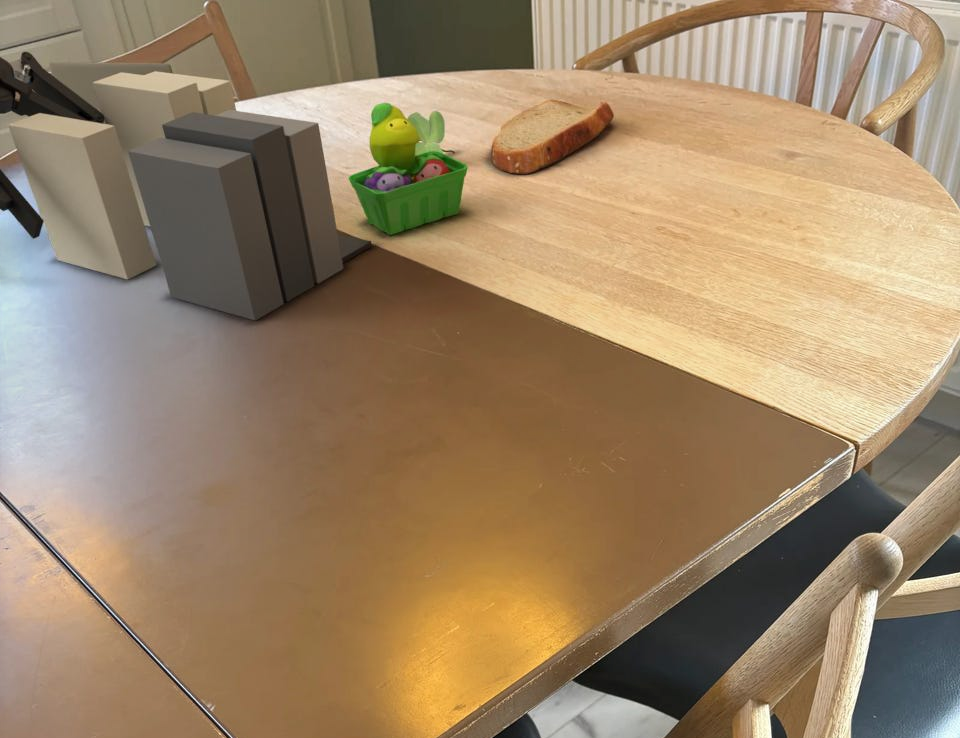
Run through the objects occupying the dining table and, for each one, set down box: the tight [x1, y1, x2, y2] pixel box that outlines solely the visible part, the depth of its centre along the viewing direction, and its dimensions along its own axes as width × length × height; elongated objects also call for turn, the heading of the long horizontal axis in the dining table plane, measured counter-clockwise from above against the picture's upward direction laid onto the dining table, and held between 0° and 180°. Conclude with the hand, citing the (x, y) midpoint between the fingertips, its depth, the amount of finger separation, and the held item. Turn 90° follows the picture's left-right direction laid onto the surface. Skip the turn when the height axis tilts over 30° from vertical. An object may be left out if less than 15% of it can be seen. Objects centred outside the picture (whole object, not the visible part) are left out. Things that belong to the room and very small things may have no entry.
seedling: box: [406, 110, 456, 155], centre depth 126 cm, size 7×8×7 cm
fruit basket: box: [348, 102, 469, 236], centre depth 109 cm, size 11×9×11 cm
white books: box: [93, 71, 237, 228], centre depth 115 cm, size 14×12×15 cm
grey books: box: [128, 110, 373, 322], centre depth 100 cm, size 19×12×15 cm, turn 145°
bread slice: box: [490, 99, 615, 175], centre depth 126 cm, size 18×18×4 cm
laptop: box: [48, 61, 174, 124], centre depth 131 cm, size 18×12×13 cm
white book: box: [7, 113, 157, 281], centre depth 106 cm, size 4×12×14 cm, turn 55°
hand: (83, 210), depth 107 cm, fingers open, 11 cm apart
